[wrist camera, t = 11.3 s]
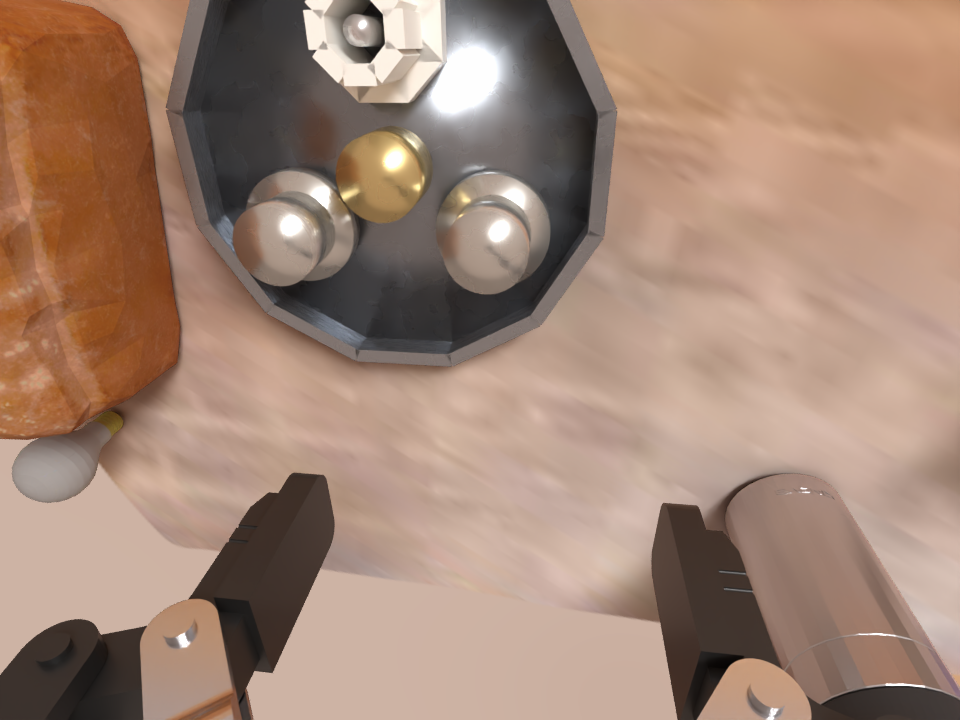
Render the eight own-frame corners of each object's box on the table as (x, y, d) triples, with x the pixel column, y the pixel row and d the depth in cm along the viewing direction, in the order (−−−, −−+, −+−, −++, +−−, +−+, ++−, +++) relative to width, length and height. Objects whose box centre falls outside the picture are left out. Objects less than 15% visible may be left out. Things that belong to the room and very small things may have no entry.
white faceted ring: (443, -47, 30) (421, -65, 25) (448, 100, 33) (430, 109, 29) (315, -43, 31) (270, -60, 26) (333, 100, 34) (297, 109, 29)
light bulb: (81, 418, 52) (-13, 492, 44) (97, 381, 50) (0, 452, 41) (135, 449, 53) (53, 527, 45) (152, 414, 51) (70, 490, 42)
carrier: (587, 350, 42) (592, 401, 36) (252, 333, 45) (205, 378, 39) (632, -104, 29) (652, -144, 23) (153, -85, 32) (58, -116, 26)
